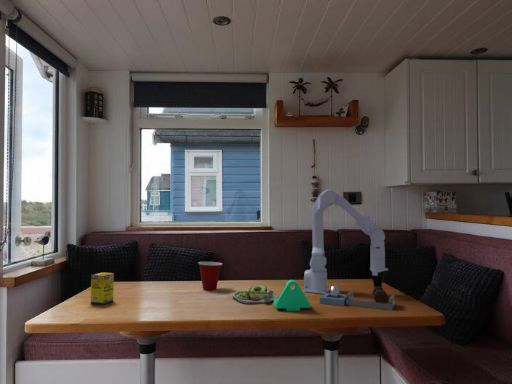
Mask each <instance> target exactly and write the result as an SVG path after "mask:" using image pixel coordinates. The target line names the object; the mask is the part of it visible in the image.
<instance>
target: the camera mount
mask: <svg viewBox="0 0 512 384" xmlns="http://www.w3.org/2000/svg"><path fill="white" fill-rule="evenodd" d="M293 285H294V287H293V288H291V286H293ZM273 304H274V307H275V308H276V309H285V310H286V311H287V312H289V311H292V312H295V311H301V309H307V308H309V309H311V303H310V300H309V299H308V297H307V296H306V295H305V292H304V290H303V289H302V287H300V285H299V283H298V282H297V281H296V280H294V279H290V280H287V282H286V283H285V287H284V288H283V290H282V292H281V294H280V295H279V297H277V299H274V301H273Z"/></svg>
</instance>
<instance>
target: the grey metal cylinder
mask: <svg viewBox="0 0 512 384" xmlns="http://www.w3.org/2000/svg"><path fill="white" fill-rule="evenodd" d="M340 288H341V287H340V285H334V284H333V285H330V293H331V298H340V294H341V293H340V292H341V289H340Z"/></svg>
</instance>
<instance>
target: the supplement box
mask: <svg viewBox="0 0 512 384" xmlns="http://www.w3.org/2000/svg"><path fill="white" fill-rule="evenodd" d="M114 274H115V273H114V272H113V273H112V272H100V273H99V272H98V273H94V274H91V275H90V277H91V278H90V279H91V281H90V304H91V305H100V306H104V305H106V304H109V303H113V302H114V285H115V283H114V279H115V275H114Z"/></svg>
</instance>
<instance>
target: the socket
mask: <svg viewBox="0 0 512 384" xmlns="http://www.w3.org/2000/svg"><path fill="white" fill-rule="evenodd" d="M346 295H347V294H343V293H340V298H331V292H327V293H325V294H322V295H320V297H319V304H321V305H322V304H323V305H330V306H331V305H332V306H340V307H341V306H342V307H344V306H345V305H346Z"/></svg>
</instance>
